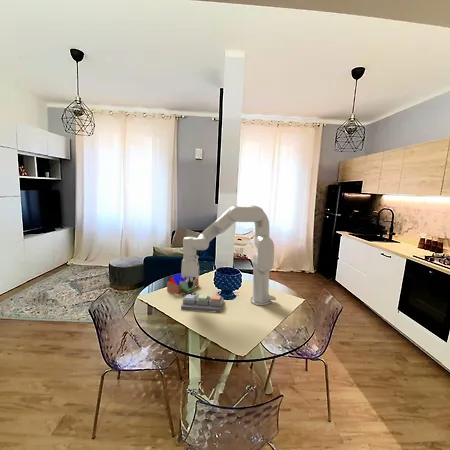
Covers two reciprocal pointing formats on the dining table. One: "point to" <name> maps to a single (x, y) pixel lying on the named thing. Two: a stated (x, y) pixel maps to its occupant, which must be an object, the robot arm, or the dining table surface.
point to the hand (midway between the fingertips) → (190, 287)
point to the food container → (186, 287)
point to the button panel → (202, 304)
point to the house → (177, 283)
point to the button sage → (203, 297)
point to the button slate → (190, 297)
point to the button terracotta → (216, 298)
